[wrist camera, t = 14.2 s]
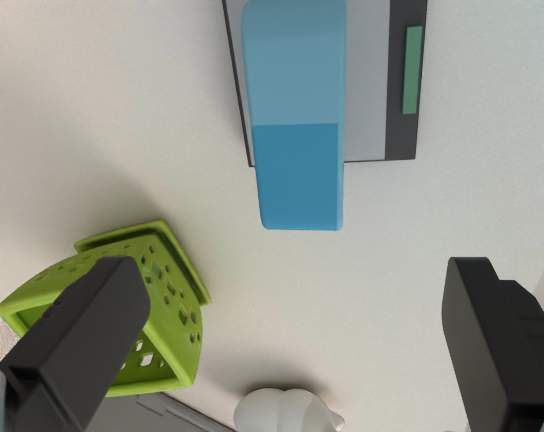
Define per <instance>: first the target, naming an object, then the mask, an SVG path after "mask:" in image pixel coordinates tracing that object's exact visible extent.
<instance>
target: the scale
mask: <svg viewBox="0 0 544 432" xmlns="http://www.w3.org/2000/svg"><path fill="white" fill-rule="evenodd" d="M248 1H250V0H222V4H223V10H224V16H225V23H226V29H227V35H228V41H229V47H230V53H231V60H232V66H233V72H234V78H235V84H236V91H237V97H238V103H239V109H240V115H241V121H242V128H243V134H244V140H245V146H246V152H247V158H248V165H249V167H255V161H254V152H253V143H252V134H251V125H250V116H249V107H248V98H247V89H246V79H245V70H244V61H243V52H242V43H241V17H242V11H243V7H244V5H245V3H246V2H248ZM427 1H428V0H346V65H345V116H344V163H348V162H369V161H390V160H411V159H415V155H416V142H417V129H418V117H419V104H420V91H421V78H422V65H423V52H424V39H425V26H426V14H427Z"/></svg>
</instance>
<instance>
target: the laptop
mask: <svg viewBox="0 0 544 432" xmlns="http://www.w3.org/2000/svg"><path fill="white" fill-rule="evenodd" d="M85 432H234V431H232V430H230V429H228V428H226V427H224V426H223V425H221V424H219V423H217V422H215V421H213V420H211V419H209V418H208V417H206V416H204V415H202V414H200V413H198V412H196V411H194V410H192V409H191V408H189V407H187V406H185V405H183V404H181V403H179V402H177V401H175V400H174V399H172V398H170V397H168V396H166V395H164V394H162V393H160V392H152V393H144V394H135V395H126V396H114V397H104V399H103V400H102V402H101V404H100V406H99V408H98V409H97V411H96V413H95V415H94V416H93V418H92V420H91V422H90V424H89V425H88V427H87V429H86V431H85Z"/></svg>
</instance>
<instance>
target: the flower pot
mask: <svg viewBox="0 0 544 432" xmlns="http://www.w3.org/2000/svg"><path fill="white" fill-rule="evenodd" d="M74 248H75V249H76V251H77V252H78V254H76V255H74V256H71V257H69V258H67V259H65V260H62V261H60V262H58V263H56V264H54V265H52V266H50V267H48V268H47V269H45V270H43V271H42V272H40V273H39V274H37V275H35V276H34V277H32V278H31V279H30V280H28V281H27V282H26V283H24V284H23V285H22V286H20V287H19V288H18V289H16V290H15V291H14V292H13V293H12V294H10V295H9V296H8V297H7V298H6V299H5V300H3V301H2V302H1V303H0V317H1V318H2V319H3V320H4V321H5V322H6V323H7V324H8V325H9V326H10V327H11V329H12V330H13V331H14V332H15V333H16V334H17V335H18V336H19V337H20V338H22V337H23V336H24V335H25V333H26V332H27V331H28V330H29V329H30V328H31V327H32V325H33V324H34V323H35V322H36V321H37V320H38V319H39V318H42V314H43V313H44V312H45V311H46V310H47V308H48V307H49V306H50V305H53V302H54V301H55V299H56V298H57V297H58V296H59V295H60V294H61V293H62V291H63V290H64V289H65V288H66V287H67V286H69V285H70V284H72V283H73V282H74V281H76V280H77V279H79V278H80V277H81V276H83V275H84V274H87V272H88V271H89V270H90V269H91V268H92V267H93V265H94V264H95V263H96V262H97V261H98V260H99V259H100V258H101V257H103V256H131V257H133V258H134V259H135V261H136V263H137V265H138V268H139V270H140V273H141V276H142V278H143V281H144V284H145V286H146V289H147V292H148V294H149V297H150V301H151V310H150V315H149V318H148V321H147V323H146V324H145V326H144V328H143V330H142V331H141V333H140V335H139V337H138V338H137V340H136V342H135V344H134V346H133V347H132V349H131V351H130V353H129V354H128V356H127V358H126V360H125V362H124V363H123V365H124V364H126V365H125V367H124V368H123V369H122V370H121V369H120V370H119V372H118V374H117V376H116V377H115V379H114V381H113V383H112V385H111V386H110V388H109V390H108V392H107V393H106V395H105V397H114V396H126V395H135V394H144V393H152V392H160V391H167V390H175V389H180V388H186V387H189V386H191V385H192V384H193V382H194V380H195V377H196V373H197V369H198V364H199V359H200V354H201V347H202V317H201V310H200V306H204V305H208V304H210V303H211V298H210V296H209V294H208V292H207V290H206V288H205V286H204V284H203V283H202V281H201V279H200V277H199V276H198V274H197V272H196V270H195V269H194V267H193V265H192V264H191V262H190V260H189V258H188V257H187V255H186V253H185V251H184V250H183V248H182V247H181V245H180V243H179V242H178V240H177V238H176V237H175V235H174V233H173V232H172V230H171V229H170V227H169V226H168V224H167V223H166V221H165V220H156V221H151V222H147V223H143V224H139V225H135V226H130V227H126V228H122V229H119V230H115V231H111V232H107V233H104V234H100V235H96V236H93V237H89V238H86V239H83V240H80V241H77V242H76V243H74ZM142 342H143V344H142V347H141V349H140V350H139V351H136V349H137V346H138V344H139V343H142ZM151 354H153V357H152V360H151V363H150V364H149V365H147V366H141V363H142V360H143V358H144V357H145V356H147V355H151ZM163 363H164V364H163ZM162 364H163V365H162ZM123 365H122V366H123ZM161 365H162V366H161ZM121 368H122V367H121Z"/></svg>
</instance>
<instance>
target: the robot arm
mask: <svg viewBox="0 0 544 432" xmlns="http://www.w3.org/2000/svg"><path fill="white" fill-rule="evenodd" d="M150 310H151V301H150V297H149V294H148V292H147V289H146V286H145V284H144V281H143V278H142V276H141V273H140V270H139V268H138V265H137V263H136V261H135V259H134V258H133V257H131V256H103V257H101V258H100V259H99V260H98V261H97V262H96V263H95V264H94V265H93V267H92V268H91V269H90V270H89V271H88V272H87V274H84V275H83V276H81V277H80V278H79V279H77V280H76V281H74V282H73V283H72V284H70V285H69V286H67V287H66V288H65V289H64V290H63V291H62V293H61V294H60V295H59V296H58V297H57V298H56V299H55V301H54V302H53V305H50V306H49V307H48V308H47V310H46V311H45V312H44V313H43V314H42V318H39V319H38V320H37V321H36V322H35V323H34V324H33V325H32V327H31V328H30V329H29V330H28V331H27V332H26V333H25V335H24V336H23V337H22V338H21V339H20V340H19V341H18V342H17V344H16V345H15V346H14V347H13V348H12V349H11V350H10V352H9V353H8V354H7V355H6V356H5V357H4V358H3V359H2V361H1V362H0V432H85V431H86V429H87V427H88V425H89V424H90V422H91V420H92V418H93V416H94V415H95V413H96V411H97V409H98V408H99V406H100V404H101V402H102V400H103V399H104V397H105V395H106V393H107V392H108V390H109V388H110V386H111V385H112V383H113V381H114V379H115V377H116V376H117V374H118V372H119V370H120V369H121V367H122V365H123V363H124V362H125V360H126V358H127V356H128V354H129V353H130V351H131V349H132V347H133V346H134V344H135V342H136V340H137V338H138V337H139V335H140V333H141V331H142V330H143V328H144V326H145V324H146V323H147V321H148V318H149V315H150ZM442 325H443V331H444V335H445V338H446V342H447V345H448V349H449V353H450V356H451V360H452V364H453V367H454V371H455V374H456V378H457V382H458V385H459V389H460V392H461V396H462V400H463V403H464V407H465V411H466V414H467V418H468V421H469V425H470V428H471V432H544V311H543V310H542V308H541V306H540V305H539V303H538V301H537V300H536V298H535V297H534V296H533V295H532V294H531V293H530V292H528V291H527V290H526V289H525V288H523V287H522V286H521V285H520V284H519V283H517V282H516V281H515V280H499V278H498V276H497V274H496V272H495V270H494V268H493V266H492V264H491V262H490V261H489V259H488V258H487V257H451V258H450V259H449V261H448V266H447V273H446V280H445V287H444V294H443V301H442Z"/></svg>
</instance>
